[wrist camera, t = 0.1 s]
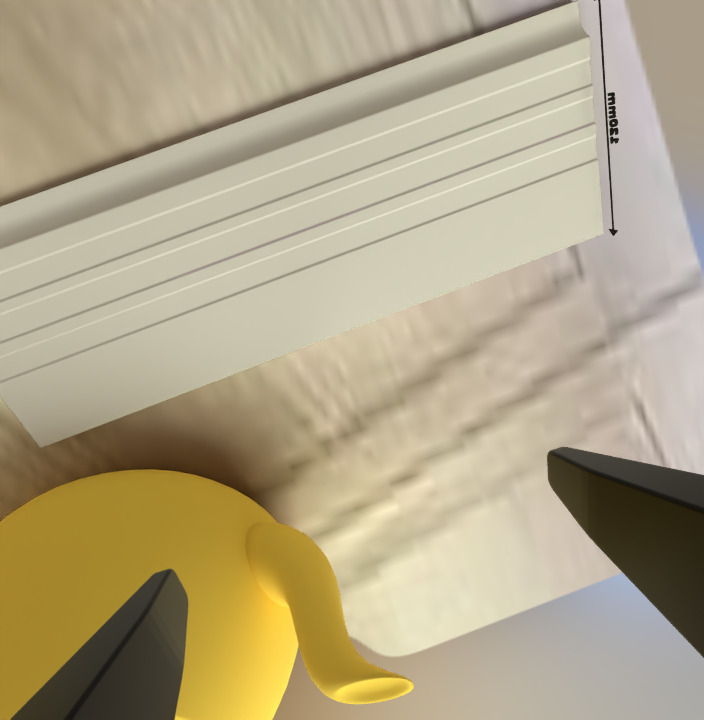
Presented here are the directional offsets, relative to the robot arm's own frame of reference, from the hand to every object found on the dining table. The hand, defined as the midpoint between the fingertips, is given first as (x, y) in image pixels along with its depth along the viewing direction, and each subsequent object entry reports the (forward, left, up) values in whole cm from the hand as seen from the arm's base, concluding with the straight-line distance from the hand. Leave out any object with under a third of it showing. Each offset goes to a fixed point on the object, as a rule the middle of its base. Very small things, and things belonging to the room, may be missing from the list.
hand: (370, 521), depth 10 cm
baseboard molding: (-5, 0, -15) cm, 16 cm away
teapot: (+12, -12, -15) cm, 23 cm away
